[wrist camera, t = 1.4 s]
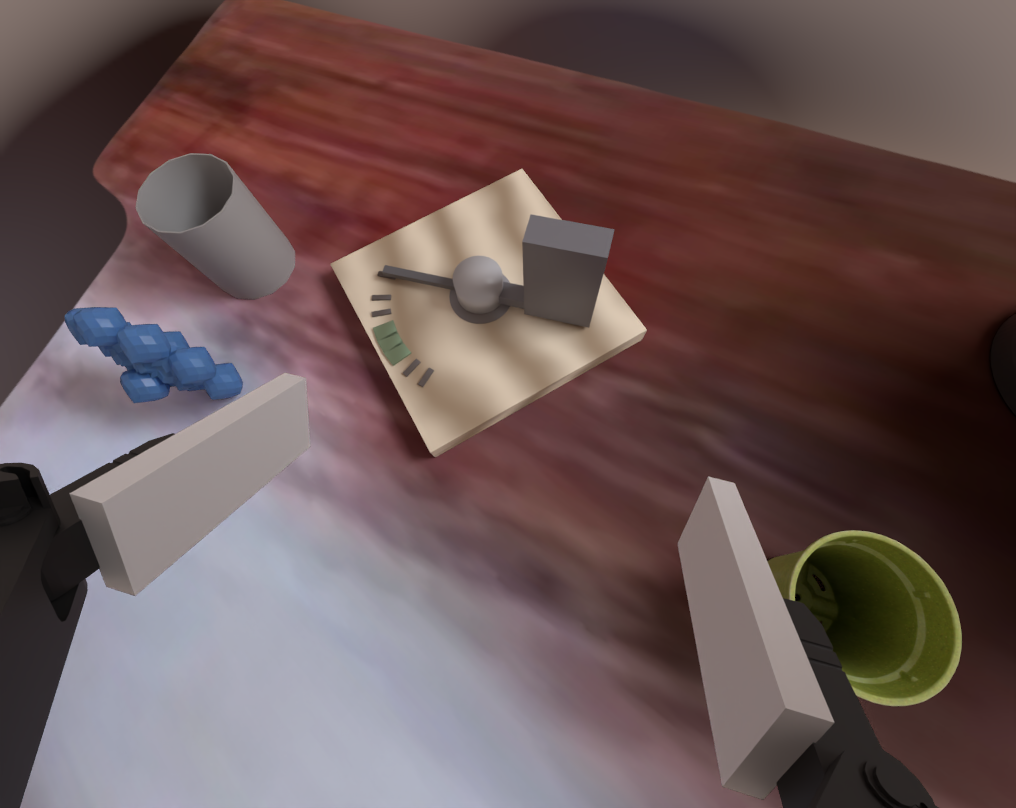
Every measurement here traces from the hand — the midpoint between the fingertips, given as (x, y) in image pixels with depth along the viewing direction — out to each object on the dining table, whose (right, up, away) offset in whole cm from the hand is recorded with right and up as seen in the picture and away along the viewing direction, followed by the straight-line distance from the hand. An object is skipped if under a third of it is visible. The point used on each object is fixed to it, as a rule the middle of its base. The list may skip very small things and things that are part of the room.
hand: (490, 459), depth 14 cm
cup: (-26, +16, +32) cm, 44 cm away
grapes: (-28, +3, +28) cm, 40 cm away
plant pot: (+23, -13, +20) cm, 33 cm away
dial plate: (-2, +11, +29) cm, 31 cm away
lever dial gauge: (-2, +12, +27) cm, 29 cm away
